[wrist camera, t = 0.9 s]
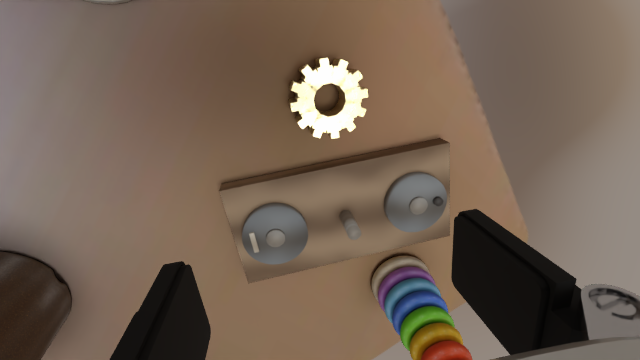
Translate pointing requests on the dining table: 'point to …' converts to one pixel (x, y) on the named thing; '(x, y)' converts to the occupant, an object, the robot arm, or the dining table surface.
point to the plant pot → (29, 307)
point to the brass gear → (345, 105)
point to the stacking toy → (417, 310)
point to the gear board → (339, 209)
